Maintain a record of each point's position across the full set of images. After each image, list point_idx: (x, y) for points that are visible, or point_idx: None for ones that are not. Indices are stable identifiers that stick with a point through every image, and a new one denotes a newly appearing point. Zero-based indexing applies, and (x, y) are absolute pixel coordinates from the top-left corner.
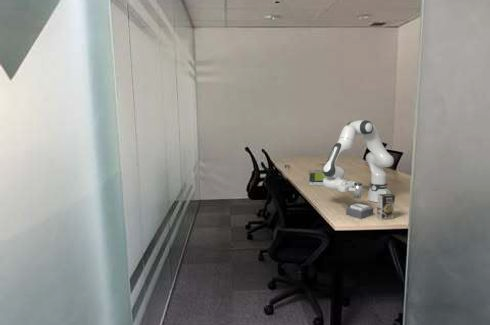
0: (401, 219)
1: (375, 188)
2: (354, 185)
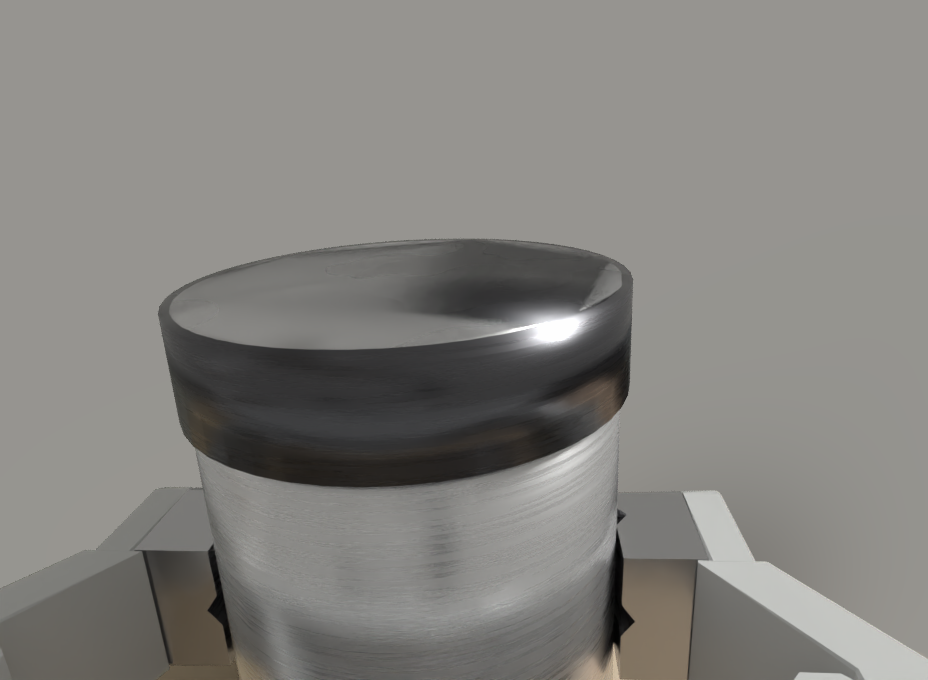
0: None
1: None
2: (590, 464)
